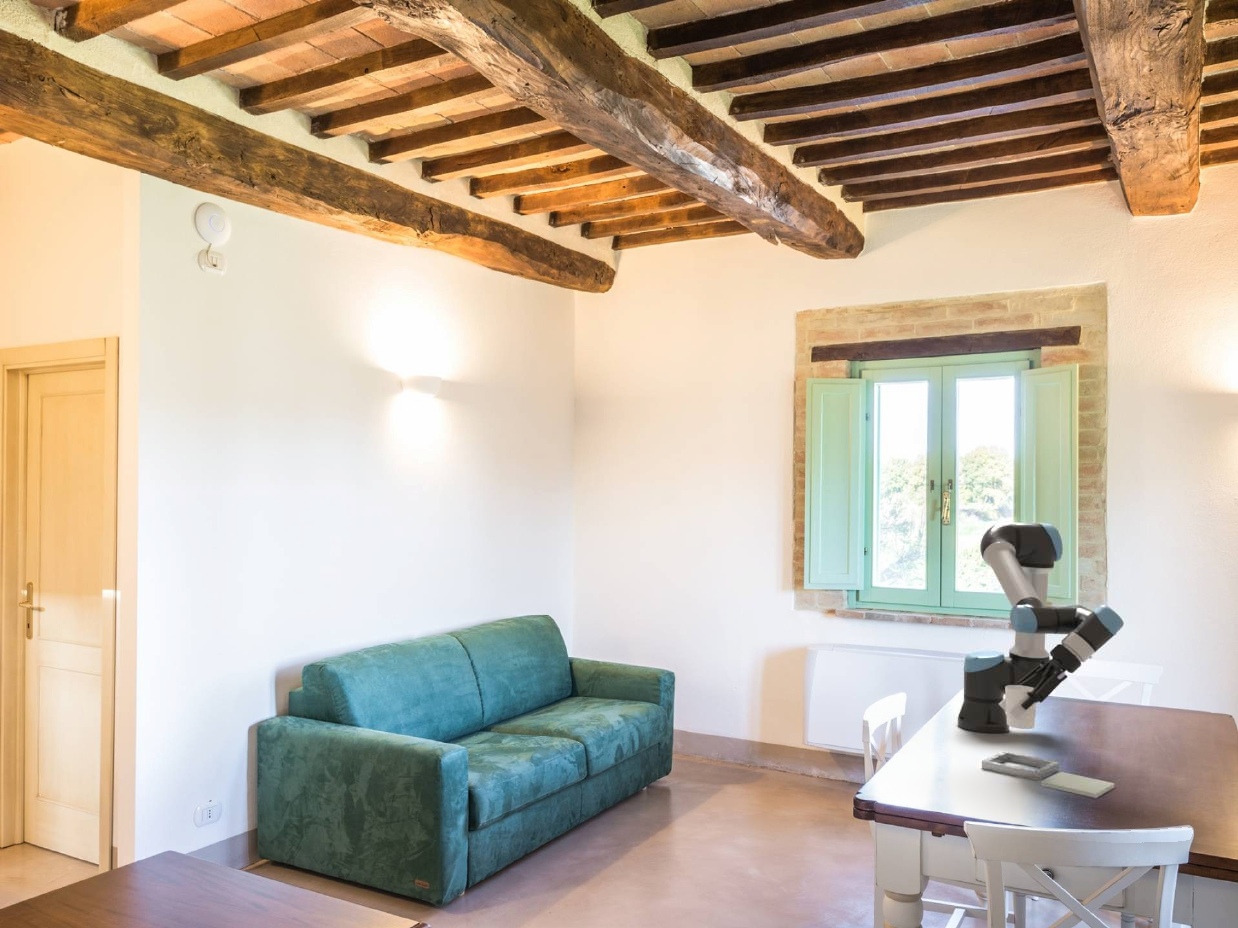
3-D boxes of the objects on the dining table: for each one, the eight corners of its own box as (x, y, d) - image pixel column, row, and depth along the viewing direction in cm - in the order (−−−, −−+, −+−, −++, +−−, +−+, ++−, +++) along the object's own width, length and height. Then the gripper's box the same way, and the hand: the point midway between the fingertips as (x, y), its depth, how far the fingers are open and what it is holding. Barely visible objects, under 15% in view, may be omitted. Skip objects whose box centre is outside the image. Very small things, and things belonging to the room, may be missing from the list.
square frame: (981, 768, 253) (981, 760, 253) (1004, 758, 263) (1004, 751, 263) (1037, 780, 242) (1037, 772, 243) (1058, 770, 253) (1058, 762, 253)
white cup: (1035, 723, 256) (1035, 686, 256) (1038, 731, 248) (1038, 692, 248) (1003, 720, 258) (1004, 683, 258) (1005, 727, 251) (1006, 689, 251)
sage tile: (1041, 785, 239) (1041, 781, 239) (1060, 775, 248) (1060, 771, 248) (1096, 797, 229) (1096, 793, 229) (1114, 787, 239) (1114, 783, 239)
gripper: (1097, 671, 242) (1031, 732, 243) (1066, 656, 262) (1005, 712, 263) (1076, 649, 242) (1009, 710, 244) (1046, 636, 263) (985, 692, 264)
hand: (1007, 711), depth 254 cm, fingers closed on white cup, 8 cm apart
